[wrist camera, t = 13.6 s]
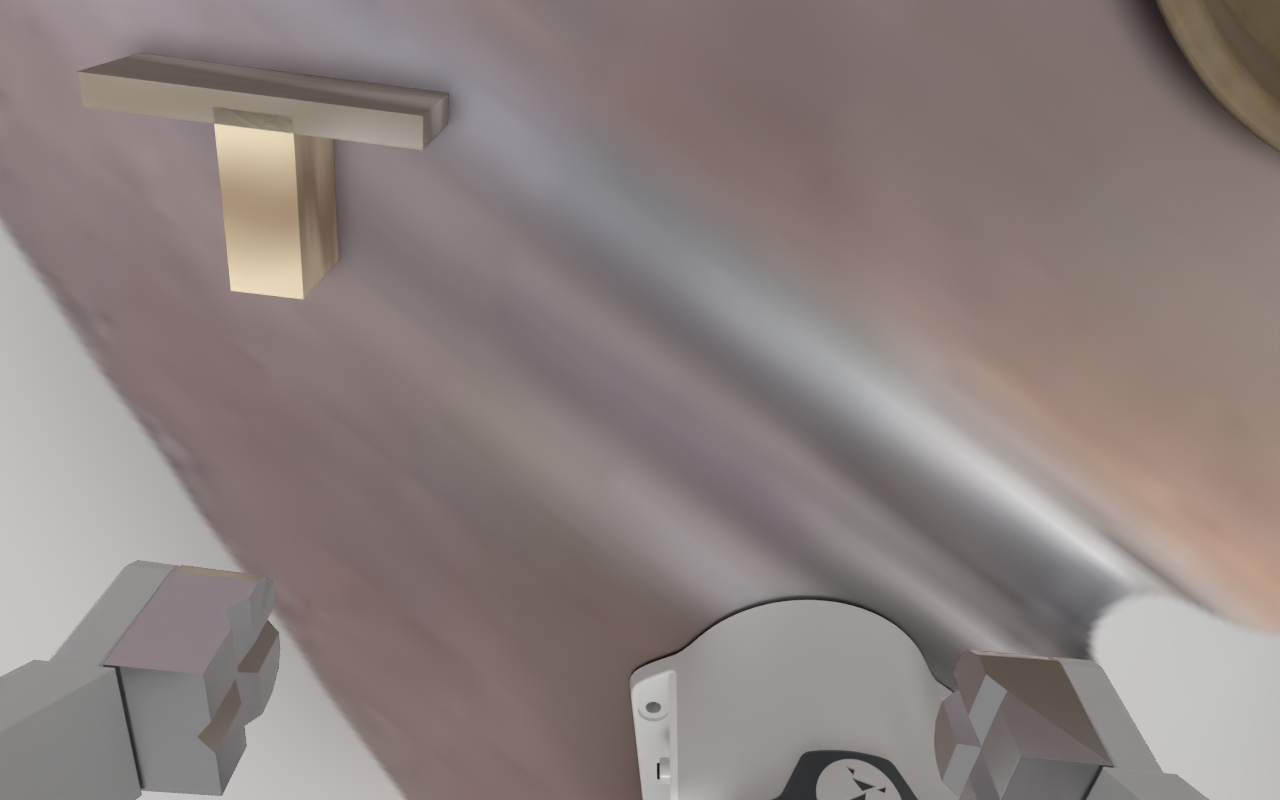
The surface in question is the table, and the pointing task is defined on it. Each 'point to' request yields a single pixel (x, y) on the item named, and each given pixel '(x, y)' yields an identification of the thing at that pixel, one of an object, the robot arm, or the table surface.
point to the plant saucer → (1233, 56)
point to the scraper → (271, 150)
